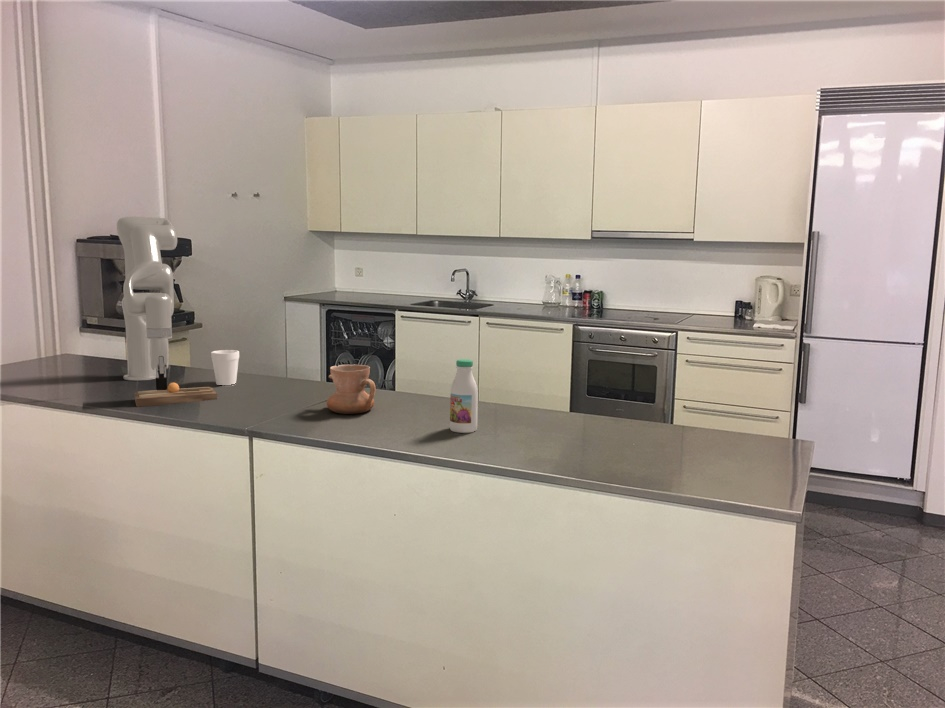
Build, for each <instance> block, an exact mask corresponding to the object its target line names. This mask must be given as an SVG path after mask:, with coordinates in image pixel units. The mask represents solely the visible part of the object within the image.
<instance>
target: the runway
mask: <svg viewBox="0 0 945 708" xmlns="http://www.w3.org/2000/svg"><path fill="white" fill-rule="evenodd" d="M217 394H218V393H217V392H216V391H215V389H214V388H213V387H212V386H202V387H188V388H187V387H186V388H179V391H178V392H174V393H170V392H168V390H159V391H157V390H156V389H155V390H154V389H153V390H140V391H135V392H134V402H135V405H136V407H137V408H138V407H152V406H153V407H154V406H163V405H164V406H165V405H173V404H174V403H176V404H182V403H194V402H204V401H212V400H213V401H214V400H215V401H216V400H217V399H218V395H217ZM174 405H175V404H174Z"/></svg>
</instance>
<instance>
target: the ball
mask: <svg viewBox="0 0 945 708" xmlns="http://www.w3.org/2000/svg"><path fill="white" fill-rule="evenodd" d="M179 389H180V386H179V384H178V383H176V382H170V383H169V384H167V390H168V392H170V393H174V392H178V391H179Z"/></svg>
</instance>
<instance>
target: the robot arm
mask: <svg viewBox="0 0 945 708" xmlns="http://www.w3.org/2000/svg"><path fill="white" fill-rule="evenodd" d="M116 232H117V235H118V239H119V241H120V243H121V245H122V248H123V252H124V270H125V272H124V273H125V279H124V282H123V298H122V299H121V307H122V312H123V318H124V325H125V336H126V337H125V338H126V357H127V359H126V360H127V361H126V362H127V374H124V375H123V379H124V380H125V381H132V382H133V381H134V382H135V381H151V380H155V390H157V391H159V390H167V386H168V379H167V370H168V369H169V362H170V361H169V360H170V359H169V357H170V354H169V352H170V351H169V339H172V338H173V330H172V329H173V328H172V325H173V324H172V322H173V321H172V316H173V314H174V313H175V312H174V310H175V295H174V292H175V291H174V290H175V289H174V274H173V270H172V267H170V266H169V265H168V264H167V263H163V262H162V261H163V260H162V255H161V251H173V250H175V249H176V247H177V245H178V235H177V234H178V233H177V231H176V229H175V226H174V225H173V224H172V223H171V220H169V219H168V218H165V217H146V216H123V217H120V218H119V219H117V221H116ZM134 290H158V291H159V292H134Z"/></svg>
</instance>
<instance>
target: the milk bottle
mask: <svg viewBox="0 0 945 708" xmlns="http://www.w3.org/2000/svg"><path fill="white" fill-rule="evenodd" d="M473 365H474V360H472V359H468V358H467V359H466V358H464V359H463V358H461V359H456V367H455V368H456V369H457V370H456V373H455V376H454V379H453V381H452V383H451V386H450V394H449V395H450V398H449V399H450V404H449V405H450V406H449V429H450V431H452V432H454V433H458V434H459V433H460V434H461V433H463V434H468V433H474V431H475V432H476V431H477V430H478V406H479V403H478V402H479V401H478V400H479V398H478V397H479V395H478V394H479V393H478V391H479V390H478V385H477V383H476V380H475V377H474V375H473Z"/></svg>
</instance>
